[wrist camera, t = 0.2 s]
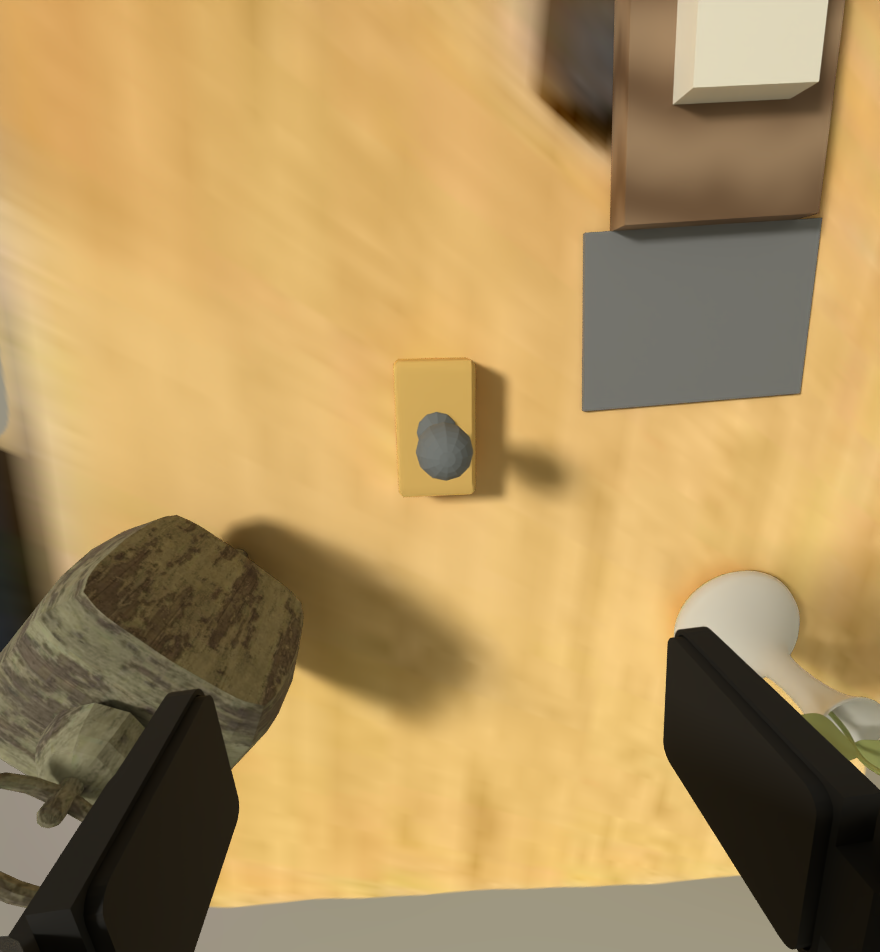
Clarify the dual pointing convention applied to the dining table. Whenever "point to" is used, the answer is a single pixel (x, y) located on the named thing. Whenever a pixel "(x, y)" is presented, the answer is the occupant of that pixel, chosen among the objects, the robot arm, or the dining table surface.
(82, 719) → the tabletop clock
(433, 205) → the dining table surface
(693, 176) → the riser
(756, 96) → the tile
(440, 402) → the rubber stamp
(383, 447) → the dining table surface
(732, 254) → the mat
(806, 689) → the flower in vase
